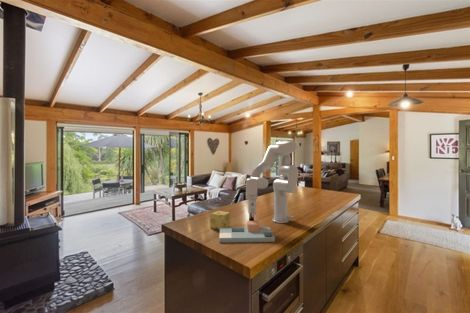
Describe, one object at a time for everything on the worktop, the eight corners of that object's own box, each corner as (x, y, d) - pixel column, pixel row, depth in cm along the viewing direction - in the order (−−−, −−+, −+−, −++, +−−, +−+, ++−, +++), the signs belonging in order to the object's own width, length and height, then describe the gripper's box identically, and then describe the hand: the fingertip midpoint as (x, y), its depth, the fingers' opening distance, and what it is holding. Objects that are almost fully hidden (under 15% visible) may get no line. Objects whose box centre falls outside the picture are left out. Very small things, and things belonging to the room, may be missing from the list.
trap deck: (268, 230, 152) (268, 227, 152) (274, 241, 134) (274, 237, 134) (219, 231, 151) (219, 227, 150) (219, 242, 133) (219, 238, 133)
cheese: (222, 230, 152) (222, 215, 152) (209, 227, 158) (209, 213, 158) (230, 226, 161) (230, 212, 161) (218, 223, 167) (218, 210, 167)
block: (257, 227, 151) (257, 220, 151) (259, 231, 144) (259, 224, 144) (247, 227, 150) (247, 221, 150) (248, 231, 143) (248, 224, 143)
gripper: (258, 199, 148) (258, 227, 148) (255, 194, 163) (255, 220, 163) (247, 199, 147) (246, 227, 148) (245, 194, 162) (244, 220, 163)
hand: (251, 224), depth 156 cm, fingers closed
